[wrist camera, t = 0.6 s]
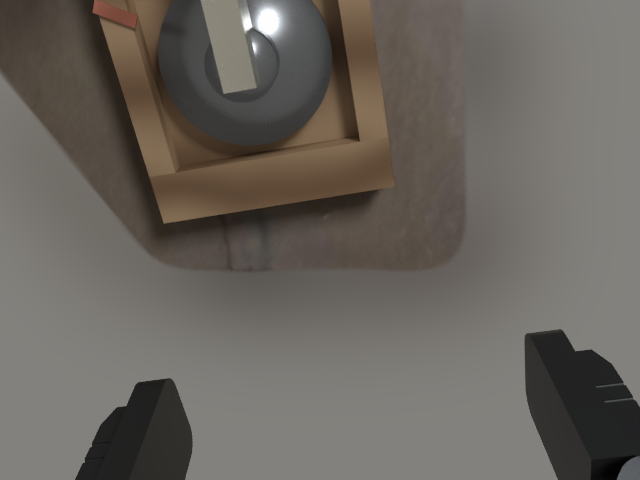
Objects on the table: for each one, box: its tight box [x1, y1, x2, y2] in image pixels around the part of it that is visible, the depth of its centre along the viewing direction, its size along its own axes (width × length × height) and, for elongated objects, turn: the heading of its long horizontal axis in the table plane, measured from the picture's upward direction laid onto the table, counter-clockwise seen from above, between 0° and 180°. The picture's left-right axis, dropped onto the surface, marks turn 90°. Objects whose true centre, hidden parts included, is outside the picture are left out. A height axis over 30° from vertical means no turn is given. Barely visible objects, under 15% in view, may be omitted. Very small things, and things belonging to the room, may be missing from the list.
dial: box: [158, 0, 332, 146], centre depth 33 cm, size 13×10×5 cm
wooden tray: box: [92, 0, 395, 223], centre depth 36 cm, size 18×15×3 cm
